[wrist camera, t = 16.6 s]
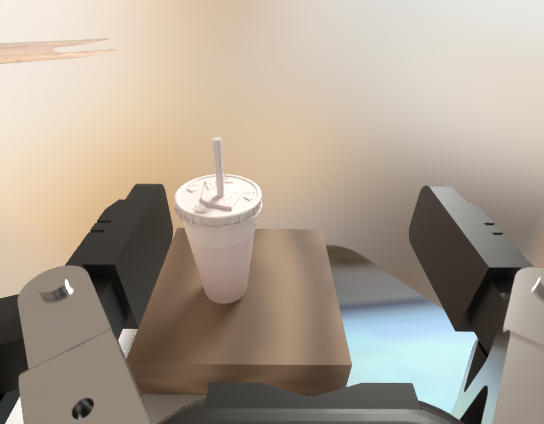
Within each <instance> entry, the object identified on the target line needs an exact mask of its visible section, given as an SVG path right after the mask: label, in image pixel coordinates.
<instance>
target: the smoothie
mask: <svg viewBox="0 0 544 424" xmlns="http://www.w3.org/2000/svg"><path fill="white" fill-rule="evenodd" d="M213 151H214V163H215V175H208V176H203V177H199V178H196V179H193V180H191V181H189V182H187V183H185V184H184V185H182V186H181V187H180V188H179V189H178V190H177V192H176V193H175V196H174V203H175V213H176V215H177V217H178V218H179V219H180V220H181V221H182V222H183V224H184V227H185V231H186V234H187V237H188V240H189V243H190V246H191V249H192V253H193V256H194V259H195V262H196V265H197V268H198V271H199V275H200V278H201V281H202V284H203V287H204V290H205V294H206V296H207V297H208V298H209V299H210V300H212V301H213V302H216V303H220V304H227V303H232V302H235V301H237V300H239V299H240V298H241V297H242V296H243V295H244V294H245V292H246V289H247V282H248V275H249V268H250V261H251V253H252V246H253V239H254V232H255V226H256V217H257V215H258V214H259V212H260V211H261V208H262V200H261V196H262V194H261V190H260V188H259V187H258V186H257V185H256V184H255V183H254V182H252V181H251V180H249V179H247V178H244V177H240V176H236V175H229V174H224V173H223V158H222V143H221V138H218V137H217V138H213Z"/></svg>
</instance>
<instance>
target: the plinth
mask: <svg viewBox="0 0 544 424" xmlns="http://www.w3.org/2000/svg"><path fill="white" fill-rule="evenodd" d="M126 360H127V363H128V365H129V368H130V370H131V372H132V375H133V377H134V379H135V382H136V384H137V386H138V389H139V391H140V394H207V389H208V383H209V382H258V383H262V384H266V385H270V386H273V387H277V388H281V389H284V390H288V391H291V392H295V393H299V394H302V395H321V394H324V393H328V392H332V391H335V390H339V389H342V388H346V385H347V381H348V378H349V374H350V370H351V366H352V363H351V359H350V354H349V350H348V345H347V341H346V336H345V332H344V327H343V322H342V318H341V313H340V309H339V304H338V300H337V295H336V290H335V286H334V281H333V277H332V272H331V268H330V263H329V259H328V254H327V249H326V245H325V240H324V236H323V231H322V230H294V229H291V230H290V229H255V232H254V239H253V246H252V253H251V261H250V268H249V275H248V282H247V289H246V292H245V294H244V295H243V296H242V297H241V298H240V299H239V300H237V301H235V302H232V303H227V304H220V303H216V302H213V301H212V300H210V299H209V298H208V297H207V296H206V294H205V290H204V287H203V284H202V281H201V278H200V275H199V271H198V268H197V265H196V262H195V259H194V256H193V253H192V249H191V246H190V243H189V240H188V237H187V234H186V231H185V228H177V230H176V233H175V235H174V238H173V241H172V243H171V246H170V248H169V251H168V253H167V256H166V259H165V261H164V264H163V266H162V269H161V271H160V274H159V277H158V279H157V282H156V284H155V287H154V290H153V292H152V295H151V297H150V300H149V303H148V305H147V308H146V311H145V313H144V316H143V318H142V321H141V324H140V326H139V329H138V331H137V334H136V336H135V339H134V341H133V344H132V347H131V349H130V352H129V354H128V357H127V359H126Z"/></svg>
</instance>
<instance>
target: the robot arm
mask: <svg viewBox="0 0 544 424" xmlns="http://www.w3.org/2000/svg"><path fill="white" fill-rule="evenodd" d="M90 231H91V232H90V233H88V234H87V236H86V237H85V238H84V240H83V241H82V242H81V244H80V245H79V247H78V248H77V249H76V251H75V252H74V253H73V255H72V256H71V258H70V259H69V260H68V262H67V263H66V265H65V266H60V267H56V268H53V269H50V270H47V271H45V272H43V273H41V274H39V275H38V276H36V277H35V278H33V279H32V280H31V281H29V282H28V283H27V284H26V285H25V286H24V288H23V289H22V290H21V292H20V294H18V295H13V296H9V297H5V298H0V424H5V423H6V421H7V419H8V417H9V415H10V413H11V412H12V410H13V408H14V406H15V404H16V402H17V401H18V399H19V397H20V398H21V406H22V413H23V420H24V424H153V421H152V419H151V417H150V414H149V412H148V410H147V408H146V405H145V403H144V401H143V398H142V396H141V394H140V391H139V389H138V386H137V384H136V382H135V379H134V377H133V375H132V372H131V370H130V368H129V365H128V363H127V360H126V358H125V356H124V353H123V351H122V349H121V346H120V344H119V342H118V339H119V337H120V334H121V332H122V330H123V329H139V326H140V324H141V321H142V318H143V316H144V313H145V311H146V308H147V305H148V303H149V300H150V297H151V295H152V292H153V290H154V287H155V284H156V282H157V279H158V277H159V274H160V271H161V269H162V266H163V264H164V261H165V258H166V256H167V253H168V250H169V248H170V245H171V242H172V237H173V226H172V221H171V216H170V212H169V206H168V202H167V197H166V192H165V189H164V186H163V185H162V184H136V185H135V186H134V187H133V189H132V190H131V192H130V193H129V195H128V196H127V198H126V199H125V200H118V201H117V202H115V203H114V204H112V205H111V206H109V207H108V208H107V209H105V211H104V212H103V213H102V215H101V216H100V217H99V219H98V220H97V223H95V224H94V226H93V227H92V228H91V230H90ZM409 239H410V243H411V246H412V248H413V250H414V252H415V253H416V256H417V258H418V259H419V261H420V263H421V265H422V267H423V269H424V271H425V273H426V275H427V277H428V279H429V281H430V283H431V285H432V287H433V289H434V291H435V293H436V294H437V296H438V298H439V300H440V302H441V304H442V306H443V308H444V310H445V312H446V314H447V316H448V318H449V320H450V322H451V324H452V326H453V328H454V330H455V331H467V332H475V334H476V336H477V340H476V341H475V343H474V345H473V348H472V351H471V354H470V358H469V361H468V364H467V368H466V371H465V374H464V378H463V381H462V384H461V388H460V391H459V394H458V398H457V401H456V403H455V406H454V408H453V410H452V412H451V414H449V413H447V412H445V411H443V410H441V409H439V408H437V407H435V406H432V405H430V404H427V403H425V402H422V401H418V399H417V396H416V393H415V390H414V387H413V384H412V383H360V384H357V385H353V386H349V387H346V388H342V389H339V390H335V391H332V392H328V393H324V394H321V395H317V396H306V395H302V394H299V393H295V392H291V391H288V390H284V389H281V388H277V387H273V386H270V385H266V384H262V383H258V382H209V383H208V389H207V396H206V398H205V399H202V400H198V401H196V402H193V403H191V404H188V405H186V406H184V407H182V408H181V409H179V410H177V411H175V412H173V413H172V414H171V415H169V416H168V417H166V418H165V419H163V420H162V421H161V422H160V423H158V424H544V269H542V268H534V267H533V266H532V265H531V263H530V262H529V261H528V260H527V259H526V258H525V257H524V256H523V255H522V253H521V252H520V251H519V250H518V249H517V248H516V247H515V246H514V245H513V243H512V242H511V241H510V240H509V239H508V238H507V237H506V236H505V235H503V232H502V231H501V230H500V229H499V228H498V227H497V226H496V225H494V222H493V221H492V220H491V219H490V218H489V217H488V216H487V214H486V213H485V212H484V211H482V210H481V209H479V208H477V207H476V206H474V205H473V204H471V203H469V202H465V201H464V199H463V198H462V197H461V196H460V195H459V193H458V192H457V191H456V190H455V189H454V188H453V187H452V186H424V187H423V188H422V189H421V191H420V194H419V197H418V200H417V203H416V207H415V210H414V214H413V217H412V220H411V224H410V227H409Z"/></svg>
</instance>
